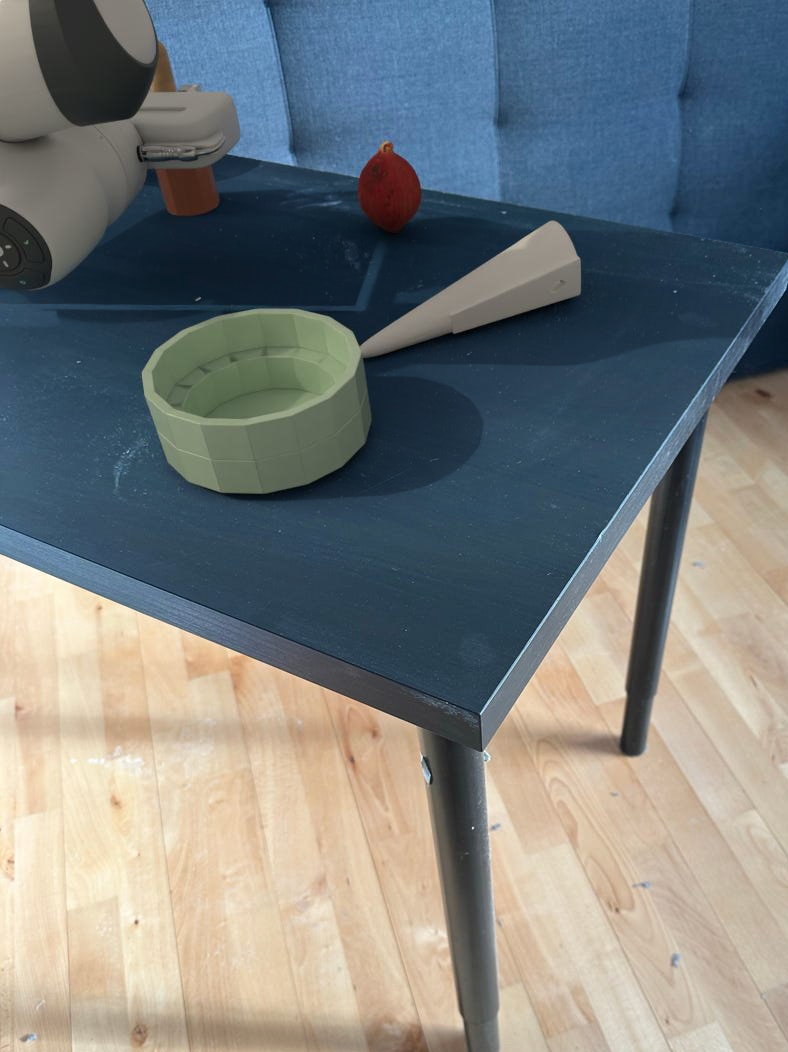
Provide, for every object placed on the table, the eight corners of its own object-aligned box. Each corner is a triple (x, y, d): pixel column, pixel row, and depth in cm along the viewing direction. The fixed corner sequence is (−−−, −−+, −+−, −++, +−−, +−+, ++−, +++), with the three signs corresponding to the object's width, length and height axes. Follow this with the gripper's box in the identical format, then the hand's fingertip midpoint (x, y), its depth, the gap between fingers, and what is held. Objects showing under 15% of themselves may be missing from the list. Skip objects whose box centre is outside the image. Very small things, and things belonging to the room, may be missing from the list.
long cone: (340, 345, 78) (545, 269, 82) (368, 388, 75) (581, 307, 78) (325, 284, 74) (543, 207, 77) (353, 328, 70) (581, 244, 73)
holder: (161, 221, 92) (139, 146, 87) (177, 199, 96) (157, 125, 90) (212, 221, 92) (193, 145, 87) (226, 199, 95) (209, 125, 90)
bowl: (140, 498, 62) (110, 422, 58) (201, 380, 72) (180, 307, 68) (351, 503, 61) (338, 426, 57) (385, 382, 71) (375, 308, 67)
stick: (177, 209, 93) (132, 43, 82) (184, 199, 94) (141, 34, 84) (201, 209, 92) (158, 42, 82) (207, 199, 94) (167, 34, 83)
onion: (396, 251, 86) (387, 160, 80) (350, 236, 88) (337, 146, 82) (436, 228, 89) (430, 138, 83) (390, 214, 91) (381, 125, 85)
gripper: (203, 111, 69) (250, 52, 78) (-58, 113, 71) (18, 55, 80) (223, 198, 74) (265, 133, 83) (-22, 198, 76) (46, 134, 85)
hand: (142, 95), depth 82 cm, fingers open, 8 cm apart
